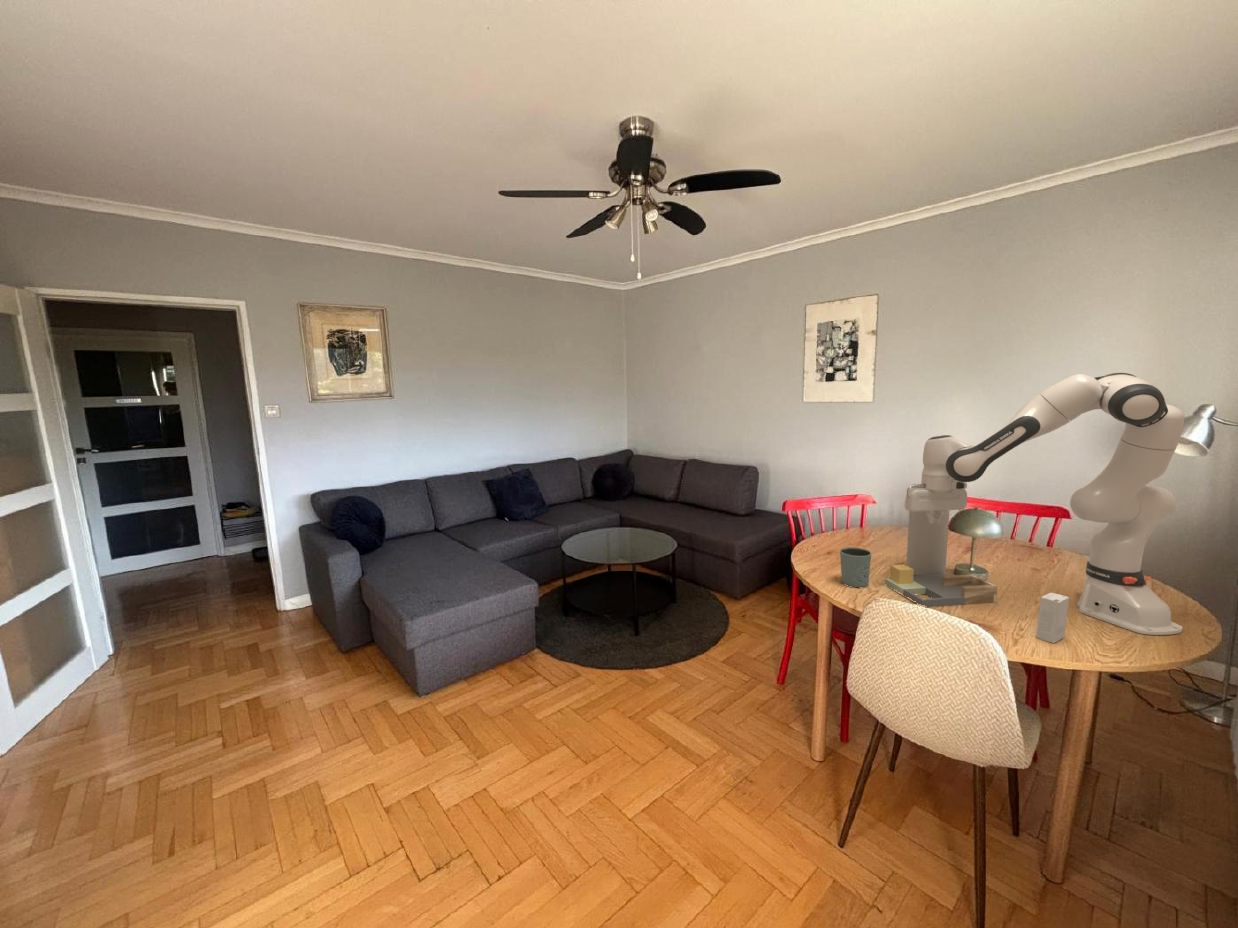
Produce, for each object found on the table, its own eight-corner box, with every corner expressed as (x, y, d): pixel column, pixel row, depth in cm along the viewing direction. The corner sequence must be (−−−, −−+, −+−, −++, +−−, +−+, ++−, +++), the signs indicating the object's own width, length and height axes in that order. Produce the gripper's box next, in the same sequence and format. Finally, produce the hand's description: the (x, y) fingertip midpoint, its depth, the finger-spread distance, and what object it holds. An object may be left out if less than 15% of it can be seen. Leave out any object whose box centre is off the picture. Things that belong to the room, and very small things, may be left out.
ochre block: (912, 583, 170) (913, 569, 169) (899, 584, 170) (899, 570, 169) (903, 577, 175) (903, 564, 174) (889, 578, 175) (890, 565, 174)
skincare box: (1045, 631, 139) (1049, 591, 138) (1065, 638, 135) (1070, 596, 134) (1034, 637, 136) (1038, 595, 135) (1055, 644, 133) (1059, 601, 131)
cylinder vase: (906, 565, 194) (909, 502, 190) (944, 569, 188) (948, 505, 184) (906, 575, 183) (909, 510, 179) (946, 581, 177) (950, 513, 173)
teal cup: (873, 589, 172) (875, 556, 170) (842, 588, 174) (843, 555, 172) (865, 578, 181) (866, 547, 180) (836, 577, 183) (837, 546, 182)
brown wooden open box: (996, 601, 159) (997, 586, 158) (964, 604, 158) (965, 588, 157) (970, 589, 169) (971, 574, 169) (940, 591, 168) (941, 576, 168)
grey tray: (996, 601, 159) (996, 594, 159) (921, 607, 157) (922, 600, 156) (951, 579, 178) (951, 573, 177) (884, 584, 175) (884, 578, 175)
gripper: (914, 486, 162) (911, 527, 164) (971, 483, 164) (968, 523, 166) (901, 483, 169) (899, 522, 171) (957, 480, 170) (954, 519, 172)
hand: (934, 523), depth 168 cm, fingers closed
